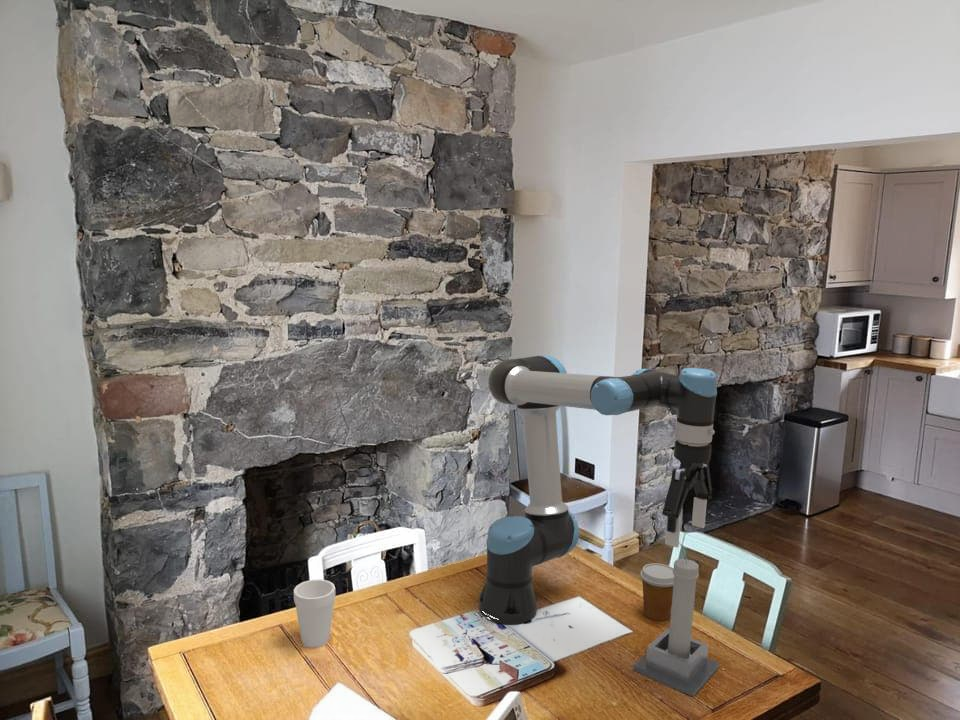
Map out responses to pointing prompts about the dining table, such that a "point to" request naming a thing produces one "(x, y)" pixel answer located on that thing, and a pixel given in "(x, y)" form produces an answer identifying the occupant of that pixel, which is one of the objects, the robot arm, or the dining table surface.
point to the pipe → (682, 606)
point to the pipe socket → (677, 665)
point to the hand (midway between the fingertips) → (685, 535)
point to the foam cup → (314, 611)
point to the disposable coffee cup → (657, 590)
